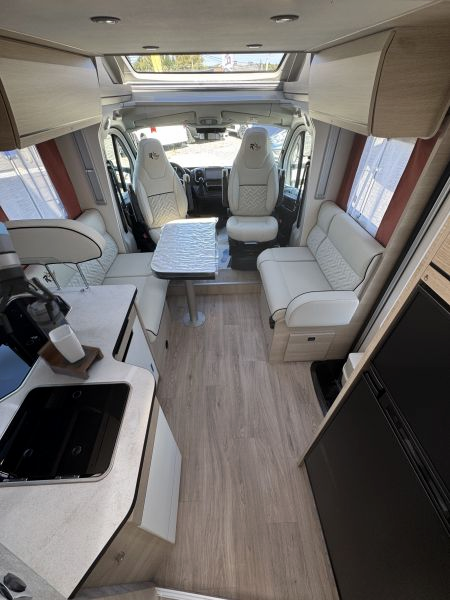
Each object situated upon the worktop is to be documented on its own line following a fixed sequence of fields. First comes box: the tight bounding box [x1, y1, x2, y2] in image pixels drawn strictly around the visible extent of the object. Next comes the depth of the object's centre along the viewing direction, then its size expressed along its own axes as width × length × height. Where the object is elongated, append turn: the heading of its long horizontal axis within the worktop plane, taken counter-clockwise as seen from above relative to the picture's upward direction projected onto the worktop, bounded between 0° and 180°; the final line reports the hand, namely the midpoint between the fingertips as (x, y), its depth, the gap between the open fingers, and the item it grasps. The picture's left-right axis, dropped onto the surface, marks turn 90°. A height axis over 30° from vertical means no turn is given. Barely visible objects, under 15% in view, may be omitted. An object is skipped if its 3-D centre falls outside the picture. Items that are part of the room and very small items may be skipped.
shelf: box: [37, 339, 105, 381], centre depth 105 cm, size 16×12×14 cm
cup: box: [49, 324, 85, 363], centre depth 100 cm, size 7×7×15 cm
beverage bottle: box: [26, 292, 75, 341], centre depth 113 cm, size 10×13×25 cm
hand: (32, 326), depth 90 cm, fingers open, 13 cm apart
